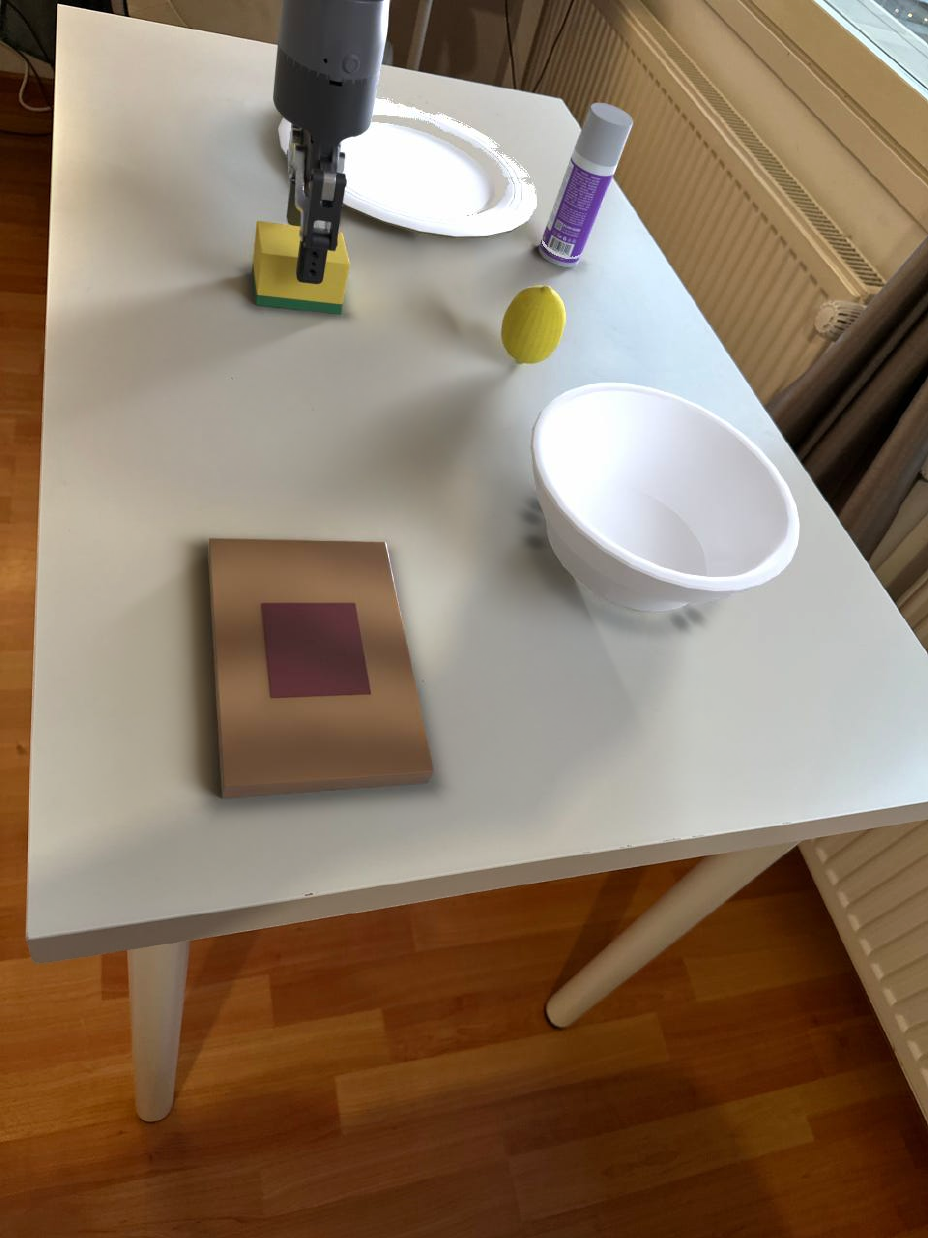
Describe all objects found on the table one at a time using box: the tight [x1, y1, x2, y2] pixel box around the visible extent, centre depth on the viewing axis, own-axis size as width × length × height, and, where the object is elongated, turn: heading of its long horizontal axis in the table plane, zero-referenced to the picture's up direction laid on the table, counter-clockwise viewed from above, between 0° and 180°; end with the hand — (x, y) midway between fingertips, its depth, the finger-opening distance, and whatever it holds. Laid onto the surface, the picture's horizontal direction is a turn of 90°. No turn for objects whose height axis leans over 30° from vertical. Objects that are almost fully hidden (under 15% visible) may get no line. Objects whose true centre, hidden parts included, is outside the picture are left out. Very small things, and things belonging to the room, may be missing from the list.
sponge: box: [251, 220, 351, 315], centre depth 77 cm, size 8×5×5 cm, turn 102°
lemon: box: [500, 285, 567, 365], centre depth 79 cm, size 6×6×8 cm
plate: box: [277, 98, 537, 239], centre depth 97 cm, size 29×29×2 cm
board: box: [207, 537, 435, 799], centre depth 55 cm, size 18×12×2 cm, turn 12°
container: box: [538, 102, 634, 268], centre depth 91 cm, size 5×5×15 cm
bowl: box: [530, 382, 801, 613], centre depth 67 cm, size 21×21×8 cm
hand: (303, 251), depth 76 cm, fingers open, 8 cm apart
